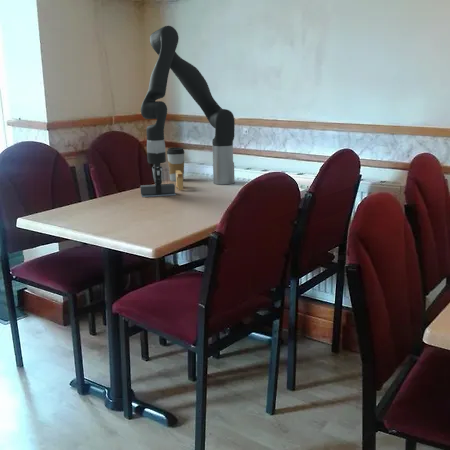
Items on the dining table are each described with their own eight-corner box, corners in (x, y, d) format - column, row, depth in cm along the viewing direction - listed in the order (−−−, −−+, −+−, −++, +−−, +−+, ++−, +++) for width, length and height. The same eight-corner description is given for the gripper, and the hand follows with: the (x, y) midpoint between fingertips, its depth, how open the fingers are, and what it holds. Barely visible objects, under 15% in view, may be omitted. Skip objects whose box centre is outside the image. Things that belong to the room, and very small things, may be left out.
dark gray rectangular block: (174, 190, 242) (173, 183, 241) (175, 192, 238) (174, 185, 238) (140, 192, 240) (140, 185, 239) (141, 194, 236) (140, 187, 235)
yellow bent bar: (180, 185, 256) (180, 170, 255) (183, 190, 247) (182, 174, 245) (176, 186, 256) (175, 170, 254) (178, 190, 246) (177, 174, 245)
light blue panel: (174, 192, 243) (174, 191, 243) (175, 195, 238) (175, 194, 237) (141, 194, 241) (141, 193, 241) (141, 197, 235) (141, 196, 235)
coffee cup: (166, 179, 275) (164, 148, 271) (183, 178, 277) (182, 147, 273) (170, 182, 267) (168, 150, 263) (187, 180, 269) (186, 149, 266)
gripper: (146, 149, 241) (148, 189, 245) (147, 153, 227) (150, 196, 232) (164, 148, 242) (166, 188, 246) (166, 152, 229) (168, 194, 233)
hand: (158, 191), depth 239 cm, fingers closed on dark gray rectangular block, 3 cm apart
